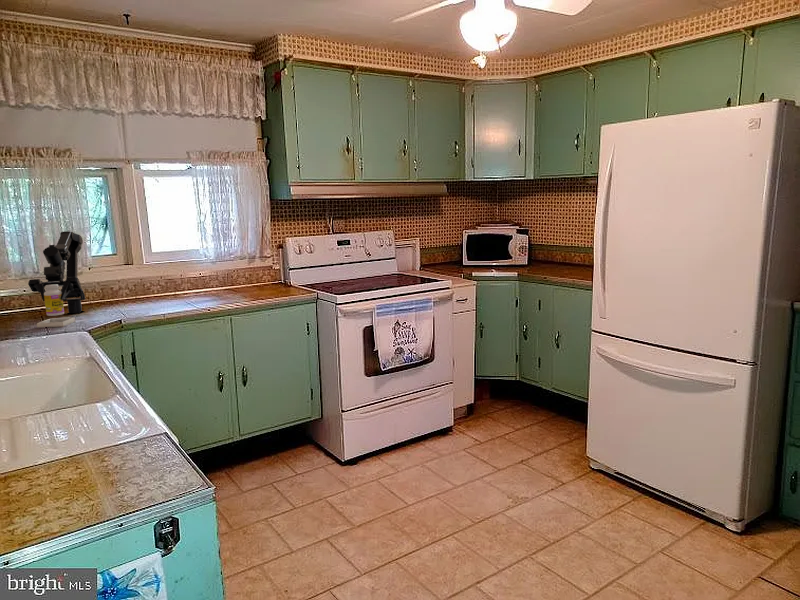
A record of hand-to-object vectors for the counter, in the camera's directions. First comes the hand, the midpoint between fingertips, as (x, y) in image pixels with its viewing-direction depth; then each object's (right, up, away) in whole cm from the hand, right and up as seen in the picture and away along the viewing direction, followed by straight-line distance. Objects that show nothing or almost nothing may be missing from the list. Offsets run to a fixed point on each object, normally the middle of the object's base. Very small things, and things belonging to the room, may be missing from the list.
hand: (52, 299), depth 242 cm
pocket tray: (0, -11, +3) cm, 11 cm away
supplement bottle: (0, -6, +2) cm, 7 cm away
